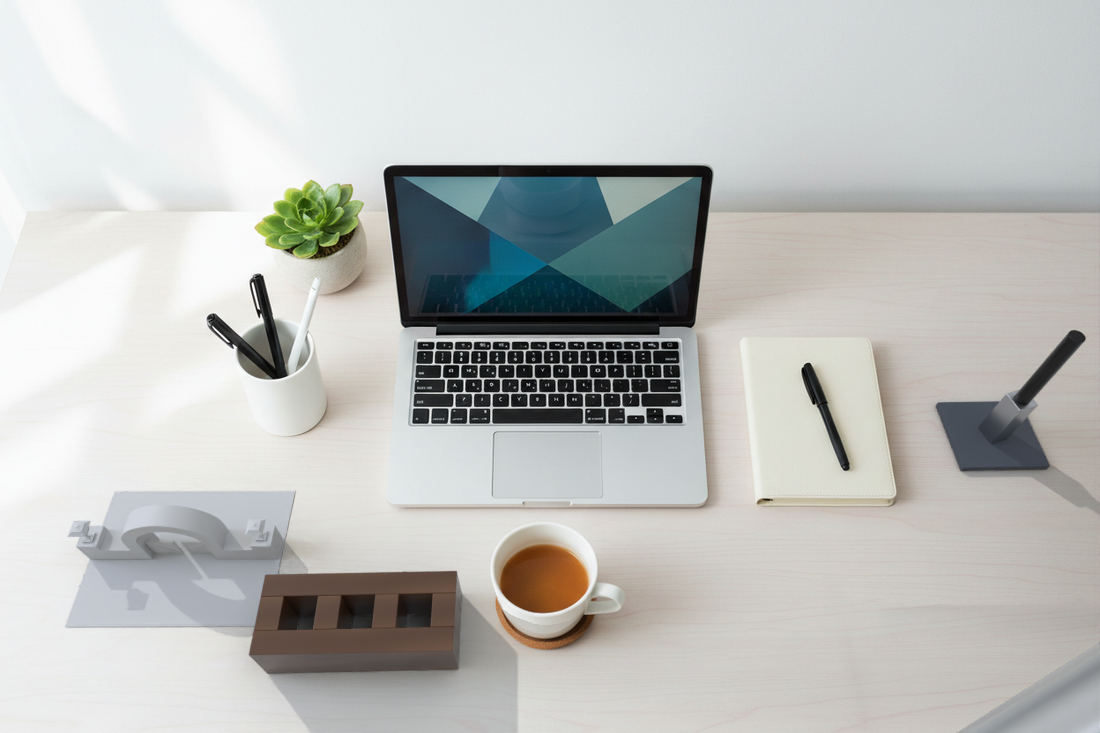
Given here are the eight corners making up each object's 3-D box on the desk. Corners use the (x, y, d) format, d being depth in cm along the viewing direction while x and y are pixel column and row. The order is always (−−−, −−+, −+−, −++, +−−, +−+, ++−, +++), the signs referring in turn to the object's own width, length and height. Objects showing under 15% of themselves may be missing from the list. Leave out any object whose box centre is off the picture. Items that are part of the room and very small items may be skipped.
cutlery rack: (458, 669, 75) (453, 650, 71) (267, 674, 75) (248, 655, 70) (462, 593, 80) (457, 570, 75) (281, 596, 80) (264, 574, 75)
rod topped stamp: (990, 444, 90) (1075, 348, 76) (977, 427, 92) (1059, 329, 77) (1007, 438, 91) (1095, 342, 76) (994, 422, 92) (1078, 324, 78)
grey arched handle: (90, 559, 82) (52, 526, 75) (98, 538, 83) (61, 504, 77) (278, 559, 82) (256, 525, 75) (283, 538, 83) (261, 504, 77)
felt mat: (1046, 469, 89) (1050, 466, 89) (960, 471, 89) (963, 467, 88) (1016, 404, 95) (1019, 400, 94) (935, 405, 94) (937, 402, 94)
